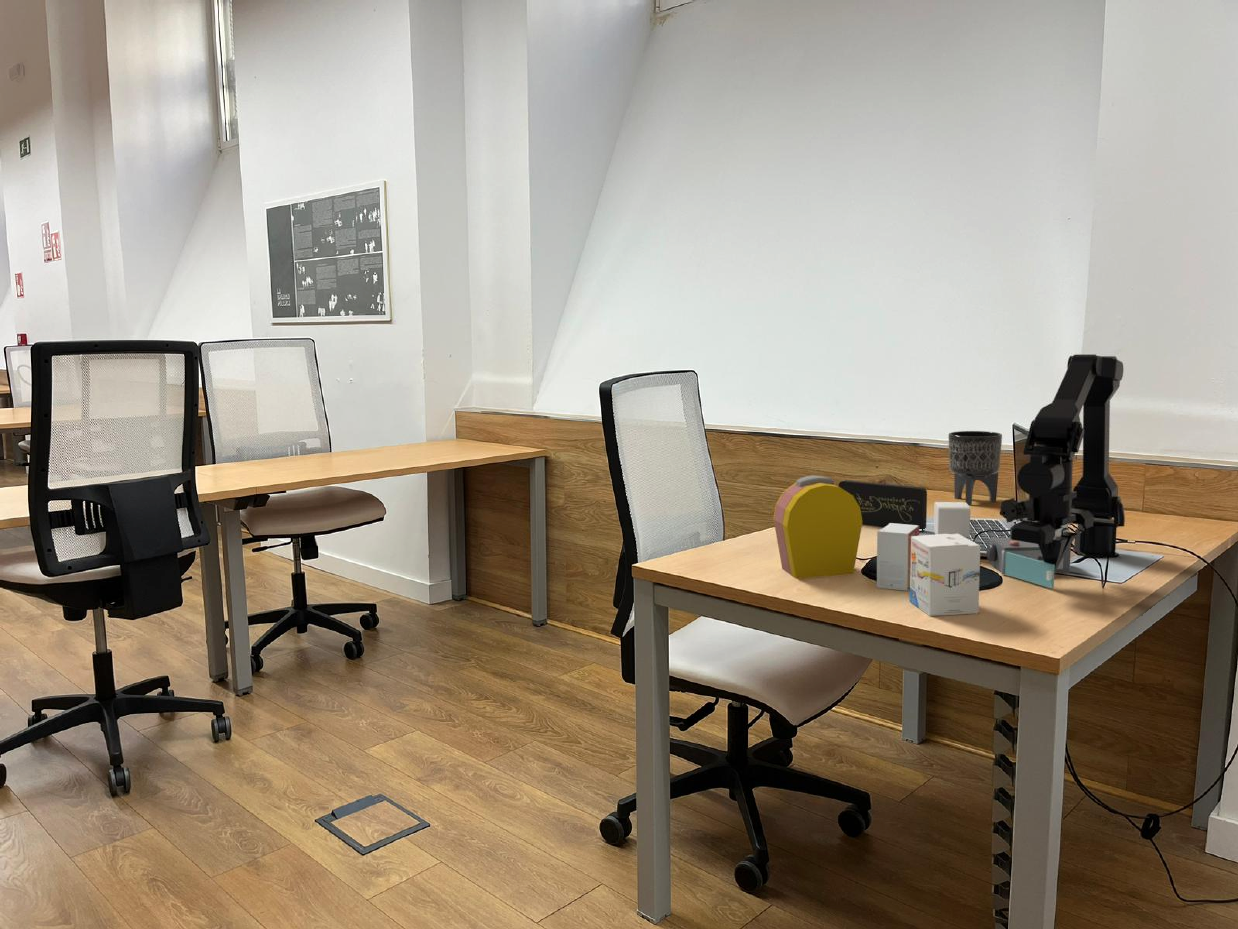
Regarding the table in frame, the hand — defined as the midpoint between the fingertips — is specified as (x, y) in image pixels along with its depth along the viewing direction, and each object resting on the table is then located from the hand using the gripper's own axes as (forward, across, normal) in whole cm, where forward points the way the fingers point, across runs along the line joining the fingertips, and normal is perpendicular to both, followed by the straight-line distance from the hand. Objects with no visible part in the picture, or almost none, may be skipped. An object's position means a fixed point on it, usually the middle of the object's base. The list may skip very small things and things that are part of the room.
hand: (1051, 572), depth 163 cm
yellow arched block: (+2, +21, -35) cm, 41 cm away
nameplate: (+3, -20, -50) cm, 54 cm away
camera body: (+3, -9, -9) cm, 13 cm away
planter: (+4, -61, -50) cm, 79 cm away
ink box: (+2, +24, -6) cm, 25 cm away
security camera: (+3, -9, -26) cm, 27 cm away
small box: (+2, +18, -19) cm, 26 cm away
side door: (+2, +1, -4) cm, 5 cm away
